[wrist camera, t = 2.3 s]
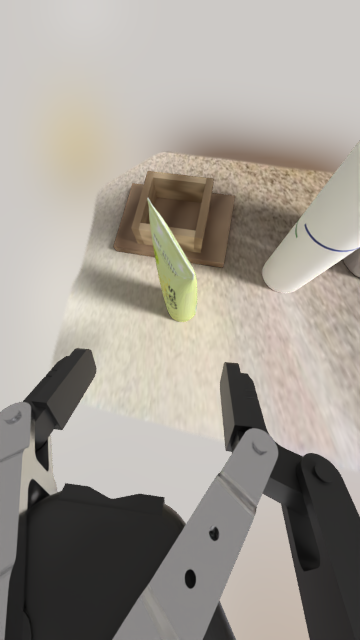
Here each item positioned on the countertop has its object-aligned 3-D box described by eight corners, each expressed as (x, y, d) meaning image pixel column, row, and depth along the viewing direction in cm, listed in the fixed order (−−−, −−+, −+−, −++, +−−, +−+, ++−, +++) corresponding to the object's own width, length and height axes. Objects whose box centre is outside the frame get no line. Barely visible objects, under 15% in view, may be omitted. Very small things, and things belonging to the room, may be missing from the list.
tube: (160, 315, 33) (119, 250, 14) (170, 289, 34) (147, 194, 15) (191, 326, 32) (193, 275, 13) (201, 299, 33) (217, 215, 14)
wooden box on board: (233, 202, 37) (240, 175, 32) (222, 267, 34) (228, 250, 29) (134, 189, 39) (125, 162, 33) (116, 250, 36) (103, 231, 30)
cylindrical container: (271, 298, 32) (521, 105, 8) (256, 261, 34) (425, 8, 10) (311, 286, 33) (676, 60, 8) (293, 250, 34) (556, -28, 10)
